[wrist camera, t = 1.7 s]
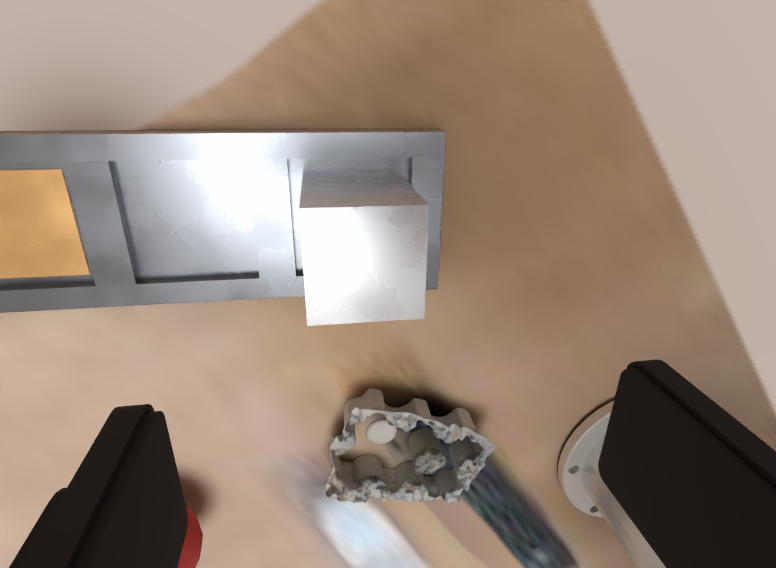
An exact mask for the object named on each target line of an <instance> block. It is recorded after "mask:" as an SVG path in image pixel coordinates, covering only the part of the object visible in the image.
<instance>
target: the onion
mask: <svg viewBox="0 0 776 568" xmlns="http://www.w3.org/2000/svg"><path fill="white" fill-rule="evenodd" d="M186 509H187V515H188V526H187V533H186V537H185V541H184V544H183V548H182V552H181V556H180V560H179V563H178V567H177V568H195V567H196V565H197V563H198V560H199V558H200V553H201V546H202V537H203V533H202V531H201V528H200V525H199V522H198V520H197V517H196V515H195V514H194V513H193V512H192V511H191V510H190V509H189V508H188V507H187V506H186Z"/></svg>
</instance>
